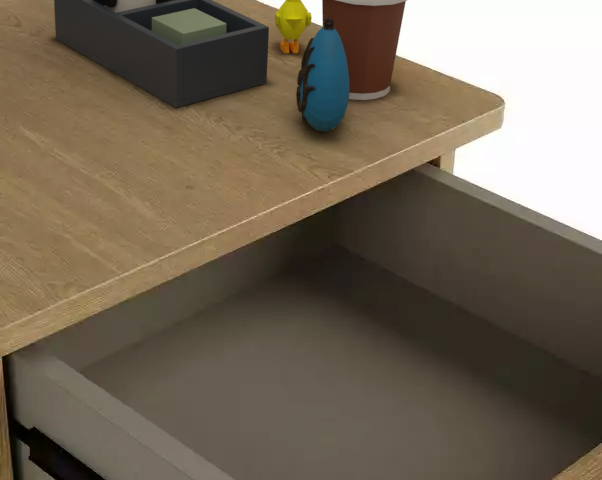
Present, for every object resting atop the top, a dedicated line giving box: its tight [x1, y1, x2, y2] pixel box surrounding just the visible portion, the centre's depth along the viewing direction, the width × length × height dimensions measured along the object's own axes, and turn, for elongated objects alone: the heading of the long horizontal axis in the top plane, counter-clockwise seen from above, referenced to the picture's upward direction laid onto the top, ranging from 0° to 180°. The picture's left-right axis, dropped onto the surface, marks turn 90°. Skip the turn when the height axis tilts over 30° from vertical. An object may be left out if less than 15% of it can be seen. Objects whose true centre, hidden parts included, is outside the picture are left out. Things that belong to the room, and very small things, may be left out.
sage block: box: [152, 8, 227, 45], centre depth 122 cm, size 5×5×5 cm
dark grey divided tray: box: [53, 0, 270, 108], centre depth 125 cm, size 11×20×6 cm, turn 41°
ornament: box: [295, 18, 350, 133], centre depth 113 cm, size 8×5×10 cm, turn 2°
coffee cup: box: [321, 0, 408, 101], centre depth 120 cm, size 9×9×12 cm
